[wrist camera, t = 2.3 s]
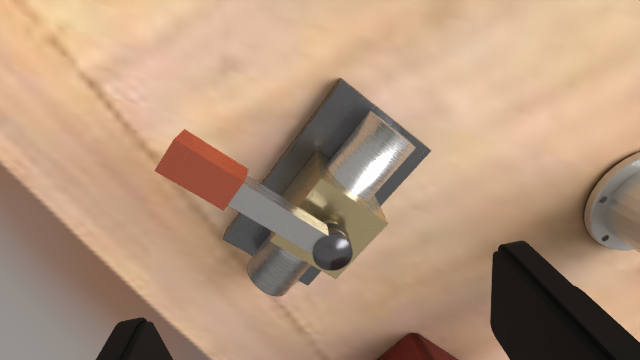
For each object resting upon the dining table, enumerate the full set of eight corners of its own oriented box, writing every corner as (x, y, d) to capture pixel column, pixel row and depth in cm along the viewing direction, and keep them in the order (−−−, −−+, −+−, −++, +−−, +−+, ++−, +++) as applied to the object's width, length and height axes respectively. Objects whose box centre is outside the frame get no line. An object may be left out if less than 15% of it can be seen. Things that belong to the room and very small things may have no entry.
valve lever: (356, 234, 27) (361, 251, 25) (333, 259, 28) (336, 277, 26) (186, 126, 23) (175, 136, 21) (164, 160, 24) (152, 173, 22)
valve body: (340, 77, 31) (357, 95, 23) (425, 145, 34) (465, 182, 26) (225, 231, 37) (206, 288, 29) (307, 276, 40) (310, 339, 32)
